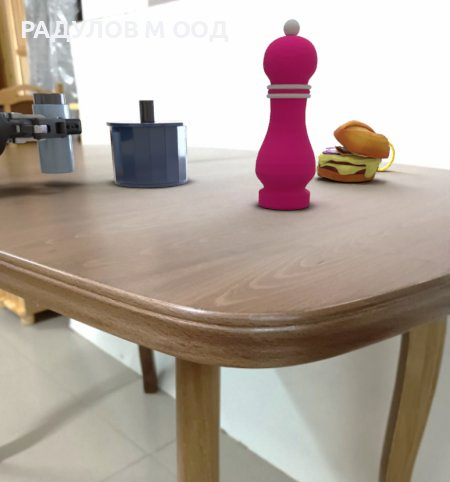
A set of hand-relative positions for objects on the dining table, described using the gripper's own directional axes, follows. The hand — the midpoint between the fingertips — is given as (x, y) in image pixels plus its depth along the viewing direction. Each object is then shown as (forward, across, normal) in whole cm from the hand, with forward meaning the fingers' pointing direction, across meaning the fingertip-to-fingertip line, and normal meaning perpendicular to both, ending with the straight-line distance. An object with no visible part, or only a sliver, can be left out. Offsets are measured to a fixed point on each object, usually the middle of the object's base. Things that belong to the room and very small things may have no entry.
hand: (67, 125), depth 74 cm
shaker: (-3, 0, +6) cm, 7 cm away
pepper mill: (+3, -36, +9) cm, 37 cm away
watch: (+41, -34, +8) cm, 54 cm away
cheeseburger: (+28, -35, +8) cm, 45 cm away
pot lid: (+7, -10, 0) cm, 12 cm away
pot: (+7, -10, +8) cm, 15 cm away
